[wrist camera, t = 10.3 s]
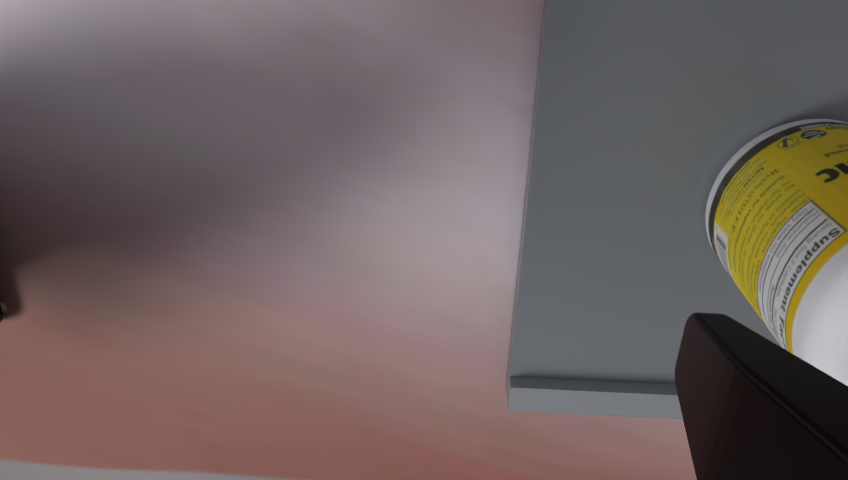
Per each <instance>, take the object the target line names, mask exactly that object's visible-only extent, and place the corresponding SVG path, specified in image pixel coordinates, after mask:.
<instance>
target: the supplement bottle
mask: <svg viewBox="0 0 848 480" xmlns="http://www.w3.org/2000/svg"><path fill="white" fill-rule="evenodd" d="M705 221H706V231H707V235H708V240H709V242H710V245H711V247H712V249H713V251H714V253H715V254H716V256H717V258H718V260H719V261H720V262H721V264H722V266H723V267H724V268H725V270H726V271H727V273H728V274H729V276H730V277H731V278H732V280H733V281H734V283H735V284H736V285H737V287H738V288H739V289H740V291H741V292H742V293H743V295H744V296H745V298H746V299H747V300H748V302H749V303H750V304H751V306H752V307H753V309H754V310H755V311H756V313H757V314H758V316H759V317H760V318H761V320H762V321H763V322H764V324H765V325H766V326H767V328H768V329H769V330H770V332H771V333H772V335H773V336H774V337H775V339H776V340H777V342H778V343H779V344H780V346H781V347H782V348H784V349H785V350H787V351H789V352H790V353H792V354H794V355H796V356H797V357H799V358H801V359H802V360H804V361H806V362H807V363H809V364H811V365H813V366H814V367H816V368H818V369H819V370H821V371H823V372H825V373H826V374H828V375H830V376H831V377H833V378H835V379H836V380H838V381H840V382H842V383H843V384H845V385H847V386H848V123H846V122H843V121H839V120H832V119H805V120H799V121H794V122H790V123H786V124H783V125H780V126H777V127H775V128H772V129H770V130H768V131H766V132H764V133H762V134H760V135H759V136H757V137H755V138H754V139H752V140H751V141H749V142H748V143H747V144H745V145H744V146H743V147H742V148H741V149H740V150H739V151H738V152H737V153H736V154H734V155H733V156H732V157H731V159H730V160H729V161H728V162H727V163H726V165H725V166H724V167H723V169H722V170H721V172H720V173H719V175H718V176H717V178H716V180H715V182H714V184H713V186H712V189H711V191H710V194H709V197H708V201H707V205H706V213H705Z"/></svg>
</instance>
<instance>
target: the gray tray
mask: <svg viewBox="0 0 848 480" xmlns="http://www.w3.org/2000/svg"><path fill="white" fill-rule="evenodd" d="M805 119H832V120H839V121H843V122H846V123H848V0H545V3H544V13H543V23H542V33H541V43H540V53H539V62H538V72H537V82H536V92H535V102H534V112H533V121H532V131H531V141H530V151H529V161H528V171H527V180H526V190H525V200H524V210H523V220H522V230H521V239H520V249H519V259H518V269H517V279H516V288H515V298H514V308H513V318H512V328H511V338H510V347H509V357H508V367H507V377H506V393H507V402H508V411H522V412H543V413H564V414H586V415H607V416H628V417H649V418H670V419H683V417H682V412H681V408H680V403H679V399H678V395H677V390H676V386H675V365H676V361H677V357H678V353H679V348H680V344H681V340H682V336H683V331H684V327H685V323H686V321H687V319H688V317H689V316H690V315H691V314H693V313H697V312H699V313H720V314H725V315H727V316H729V317H731V318H732V319H734V320H736V321H738V322H739V323H741V324H743V325H744V326H746V327H748V328H750V329H751V330H753V331H755V332H756V333H758V334H760V335H761V336H763V337H765V338H767V339H768V340H770V341H772V342H773V343H775V344H777V345H778V346H780V344H779V343H778V342H777V340H776V339H775V337H774V336H773V335H772V333H771V332H770V330H769V329H768V328H767V326H766V325H765V324H764V322H763V321H762V320H761V318H760V317H759V316H758V314H757V313H756V311H755V310H754V309H753V307H752V306H751V304H750V303H749V302H748V300H747V299H746V298H745V296H744V295H743V293H742V292H741V291H740V289H739V288H738V287H737V285H736V284H735V283H734V281H733V280H732V278H731V277H730V276H729V274H728V273H727V271H726V270H725V268H724V267H723V266H722V264H721V262H720V261H719V260H718V258H717V256H716V254H715V253H714V251H713V249H712V247H711V245H710V242H709V240H708V235H707V231H706V221H705V213H706V205H707V201H708V197H709V194H710V191H711V189H712V186H713V184H714V182H715V180H716V178H717V176H718V175H719V173H720V172H721V170H722V169H723V167H724V166H725V165H726V163H727V162H728V161H729V160H730V159H731V157H732V156H733V155H734V154H736V153H737V152H738V151H739V150H740V149H741V148H742V147H743V146H744V145H745V144H747V143H748V142H749V141H751V140H752V139H754V138H755V137H757V136H759V135H760V134H762V133H764V132H766V131H768V130H770V129H772V128H775V127H777V126H780V125H783V124H786V123H790V122H794V121H799V120H805ZM780 347H781V346H780Z"/></svg>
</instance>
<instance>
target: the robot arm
mask: <svg viewBox="0 0 848 480" xmlns="http://www.w3.org/2000/svg"><path fill="white" fill-rule="evenodd" d="M2 319H3V313H2V309H1V305H0V322H1V321H2ZM675 386H676V390H677V395H678V399H679V403H680V408H681V412H682V417H683V421H684V425H685V430H686V434H687V438H688V443H689V447H690V452H691V456H692V460H693V465H694V469H695V473H696V477H697V480H848V386H847V385H845V384H843V383H842V382H840V381H838V380H836V379H835V378H833V377H831V376H830V375H828V374H826V373H825V372H823V371H821V370H819V369H818V368H816V367H814V366H813V365H811V364H809V363H807V362H806V361H804V360H802V359H801V358H799V357H797V356H796V355H794V354H792V353H790V352H789V351H787V350H785V349H784V348H782V347H780V346H778V345H777V344H775V343H773V342H772V341H770V340H768V339H767V338H765V337H763V336H761V335H760V334H758V333H756V332H755V331H753V330H751V329H750V328H748V327H746V326H744V325H743V324H741V323H739V322H738V321H736V320H734V319H732V318H731V317H729V316H727V315H725V314H720V313H699V312H697V313H693V314H691V315H690V316H689V317H688V319H687V321H686V323H685V327H684V331H683V336H682V340H681V344H680V348H679V353H678V357H677V361H676V365H675Z"/></svg>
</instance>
